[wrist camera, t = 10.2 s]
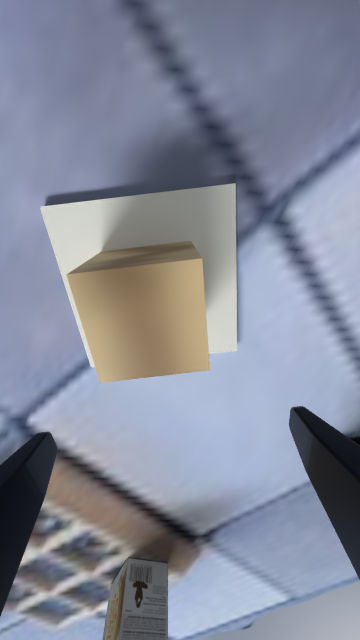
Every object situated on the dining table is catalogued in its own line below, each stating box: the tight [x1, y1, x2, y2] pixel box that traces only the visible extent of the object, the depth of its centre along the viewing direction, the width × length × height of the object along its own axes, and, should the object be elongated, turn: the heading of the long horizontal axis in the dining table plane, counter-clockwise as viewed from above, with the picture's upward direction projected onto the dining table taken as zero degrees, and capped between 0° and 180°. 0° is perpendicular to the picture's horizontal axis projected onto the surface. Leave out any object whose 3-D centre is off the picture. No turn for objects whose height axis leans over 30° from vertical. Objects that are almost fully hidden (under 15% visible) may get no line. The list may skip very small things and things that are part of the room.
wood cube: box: [66, 241, 210, 383], centre depth 15 cm, size 6×6×6 cm
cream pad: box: [40, 183, 237, 367], centre depth 18 cm, size 12×12×1 cm
